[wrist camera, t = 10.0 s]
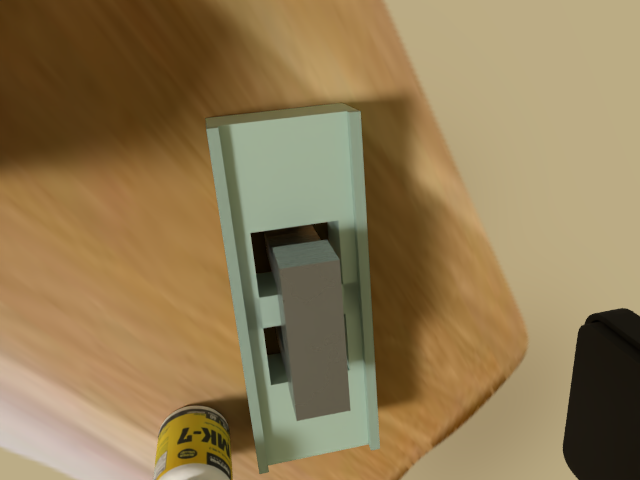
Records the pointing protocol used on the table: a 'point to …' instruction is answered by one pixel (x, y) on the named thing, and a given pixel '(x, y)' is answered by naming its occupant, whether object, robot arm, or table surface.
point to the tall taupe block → (310, 320)
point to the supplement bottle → (194, 446)
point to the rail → (260, 289)
